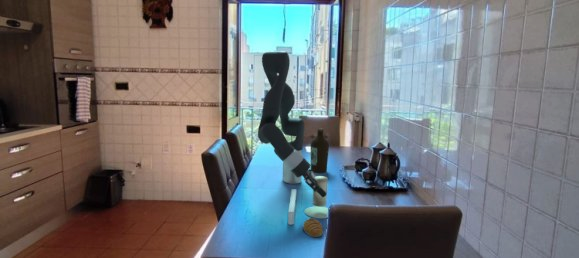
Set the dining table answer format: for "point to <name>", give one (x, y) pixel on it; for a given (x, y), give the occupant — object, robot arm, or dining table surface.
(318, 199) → the dome-topped cylinder
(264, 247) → the dining table surface
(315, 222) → the pastry
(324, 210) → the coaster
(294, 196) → the wall
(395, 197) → the dining table surface
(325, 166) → the olive oil
